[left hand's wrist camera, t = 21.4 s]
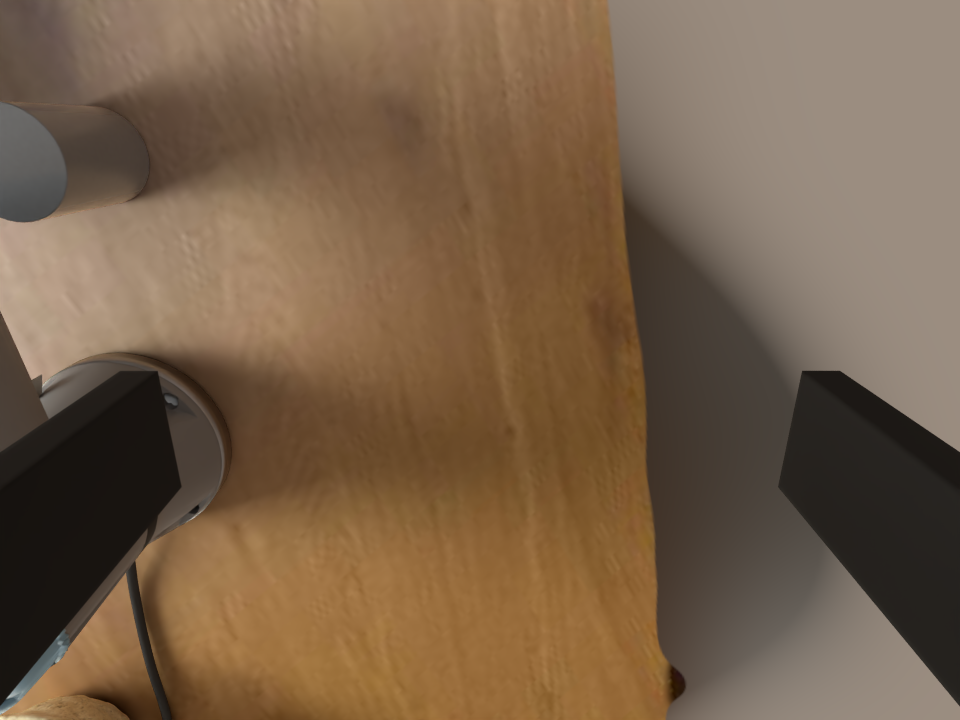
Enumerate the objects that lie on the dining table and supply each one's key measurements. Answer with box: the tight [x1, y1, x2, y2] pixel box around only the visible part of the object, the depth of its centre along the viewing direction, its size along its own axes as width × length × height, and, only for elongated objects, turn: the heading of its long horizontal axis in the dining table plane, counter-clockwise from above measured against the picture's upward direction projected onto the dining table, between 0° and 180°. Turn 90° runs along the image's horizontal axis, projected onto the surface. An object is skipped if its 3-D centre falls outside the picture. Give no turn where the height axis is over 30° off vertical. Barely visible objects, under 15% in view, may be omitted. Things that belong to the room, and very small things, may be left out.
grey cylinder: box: [0, 101, 150, 223], centre depth 37 cm, size 6×6×9 cm
